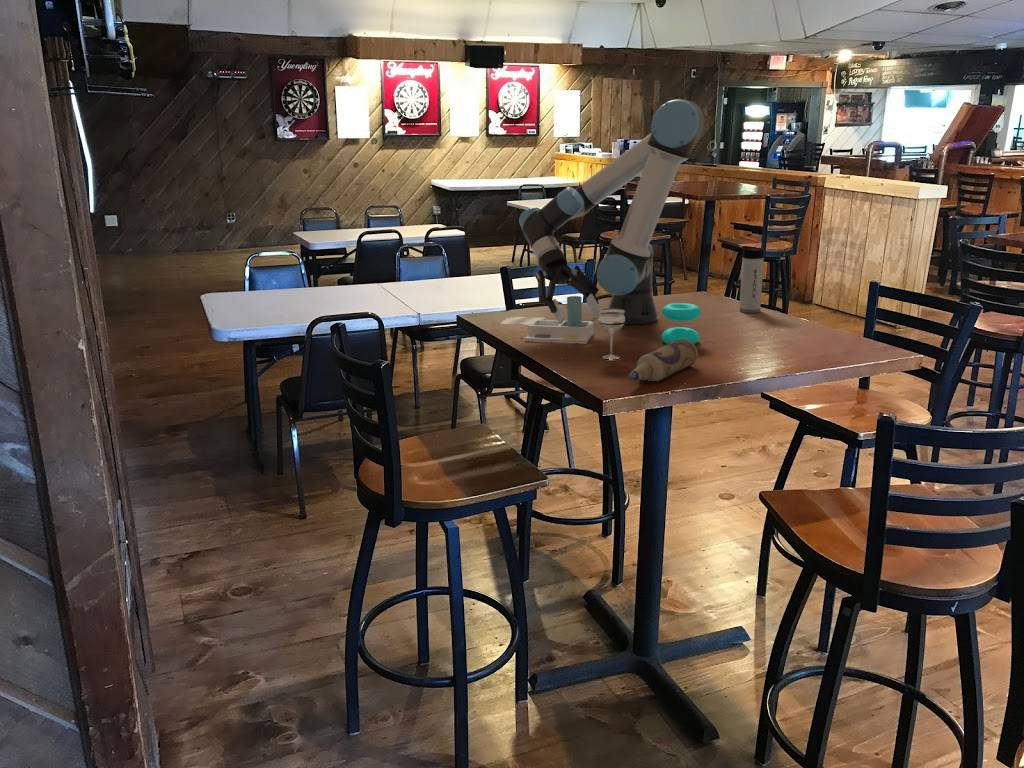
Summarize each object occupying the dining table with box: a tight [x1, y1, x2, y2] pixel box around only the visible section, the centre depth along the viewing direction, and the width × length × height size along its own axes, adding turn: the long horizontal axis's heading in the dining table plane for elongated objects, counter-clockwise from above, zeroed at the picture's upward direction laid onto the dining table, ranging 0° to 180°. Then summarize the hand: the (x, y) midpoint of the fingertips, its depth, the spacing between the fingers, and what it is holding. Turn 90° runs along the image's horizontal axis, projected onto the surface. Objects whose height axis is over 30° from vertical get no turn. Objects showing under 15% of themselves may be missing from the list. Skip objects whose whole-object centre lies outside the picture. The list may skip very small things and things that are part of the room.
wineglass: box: [597, 308, 625, 361], centre depth 207 cm, size 7×7×12 cm
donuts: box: [661, 302, 702, 345], centre depth 221 cm, size 10×10×10 cm
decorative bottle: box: [627, 339, 699, 382], centre depth 191 cm, size 26×8×7 cm, turn 141°
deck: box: [499, 316, 547, 326], centre depth 248 cm, size 12×10×1 cm
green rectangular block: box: [566, 295, 583, 327], centre depth 230 cm, size 4×4×10 cm
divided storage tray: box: [524, 319, 594, 345], centre depth 230 cm, size 17×12×4 cm
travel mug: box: [739, 245, 765, 314], centre depth 256 cm, size 6×7×20 cm
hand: (580, 318), depth 228 cm, fingers open, 11 cm apart
